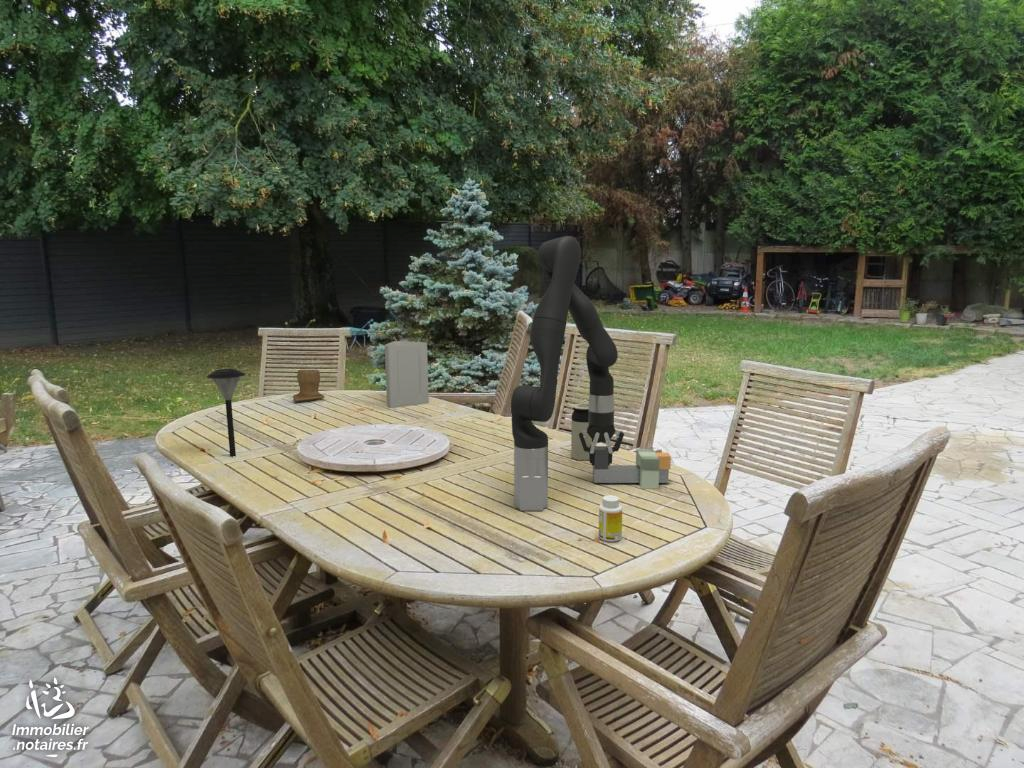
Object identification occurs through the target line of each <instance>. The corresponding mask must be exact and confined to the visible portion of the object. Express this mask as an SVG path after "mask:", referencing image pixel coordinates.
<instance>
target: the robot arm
mask: <svg viewBox="0 0 1024 768" xmlns="http://www.w3.org/2000/svg"><path fill="white" fill-rule="evenodd" d="M581 257H582V250H581V245H580V243H579V241H578V240H577V239H576V238H575V237H574V236H571V235H564V236H560V237H557V238H553V239H550V240H547V241H544V242H543V243H541V245H539V248H538V252H537V258H538V263H539V265H540V268H541V269H542V271H544V273H545V275H546V276H547V278H548V279H549V281H550V283H549V285H548V288H546V289H547V290H546V291H545V293H544V294H543V296H542V297H541V299H540V301H539V302H538V304H537V307H536V308H535V309H534V314H533V316H532V321H531V327H530V333H529V340H530V344H531V347H532V350H533V351H534V354H535V356H536V359H537V361H538V364H539V368H540V382H539V386H533V385H522V384H521V385H518V386H516V387H515V388H514V390H513V391H512V393H511V400H510V414H511V431H512V432H511V433H512V438H513V484H514V485H513V486H514V487H513V490H514V491H513V492H514V493H513V495H514V498H513V499H514V504H513V505H514V506H515V507H516V508H517V509H519V511H520V512H521V511H524V512H525V511H528V512H531V511H535V512H536V511H538V512H539V511H540V512H541V511H543V510H544V509H545V508H547V507H548V505H549V504H548V503H549V501H548V500H549V489H548V488H549V487H548V486H549V435H548V434H547V433H546V432H545V431H543V430H541V429H539V427H537V426H536V425H535V424H534V423H533V422H539V423H546V422H548V421H550V419H551V418H552V417H553V416H552V415H553V413H554V410H555V405H556V397H557V396H556V395H557V387H558V386H557V385H558V374H559V373H558V372H559V368H560V367H559V366H560V362H561V361H560V360H561V354H562V353H561V352H562V349H563V343H564V339H565V333H566V328H567V321H568V314H570V315H571V317H572V319H573V322H574V325H575V326H576V328H577V331H578V333H579V335H580V337H581V338H582V339H584V341H586V342H587V344H588V346H587V349H586V353H585V360H586V366H587V373H588V377H589V396H588V404H589V405H588V408H589V420H588V428H587V430H585V431H579V432H578V434H579V437H580V440H581V443H582V446H583V449H584V451H585V452H586V451H587V452H589V460H588V461H589V464H591V466H593V465H594V450H595V447H596V446H597V444H600V443H602V444H603V443H604V444H605V446H607V448H608V465H611V464H612V463H613V453H615V452H619V451H620V448H621V444H622V442H623V440H624V436H625V434H624V431H622V430H617V429H616V428H615V397H614V395H615V394H614V392H615V391H614V385H615V382H614V377H613V375H612V374H611V373H610V370H609V368H611V367H612V366H614V365H615V364H616V363H617V360H618V358H619V357H618V356H619V353H618V349H617V348H618V347H616V344H615V342H614V340H613V339H612V338H611V336H610V334H609V333H608V331H607V330H606V328H605V327H604V326H603V323H602V320H601V318H600V315H599V313H598V311H597V309H596V307H595V305H594V303H592V300H591V299H590V298H588V296H587V295H586V294H584V293H585V292H583V291H582V290H581V289H580V288H579V287H578V286H577V284H575V281H576V278H577V275H578V272H579V268H580V264H581V259H582V258H581ZM587 434H589V436H590V437H591V439H592V440H591V444H590V447H587V445H586V442H585V438H586V435H587ZM614 435H615V438H616V439H615V442H614V445H613V446H612V444H611V439H612V438H613V437H614Z"/></svg>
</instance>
